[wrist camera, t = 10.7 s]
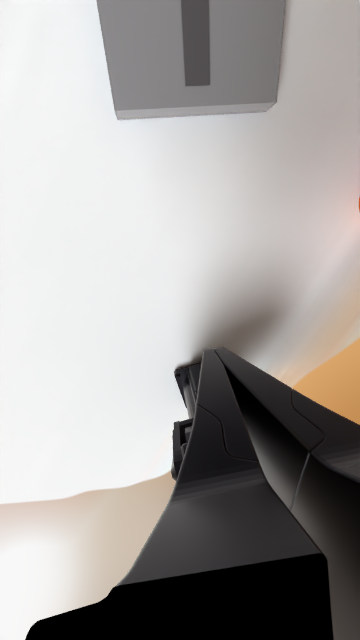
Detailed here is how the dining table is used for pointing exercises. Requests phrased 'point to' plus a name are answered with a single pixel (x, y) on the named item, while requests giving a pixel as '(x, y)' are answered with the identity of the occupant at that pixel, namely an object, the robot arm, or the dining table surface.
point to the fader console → (192, 56)
